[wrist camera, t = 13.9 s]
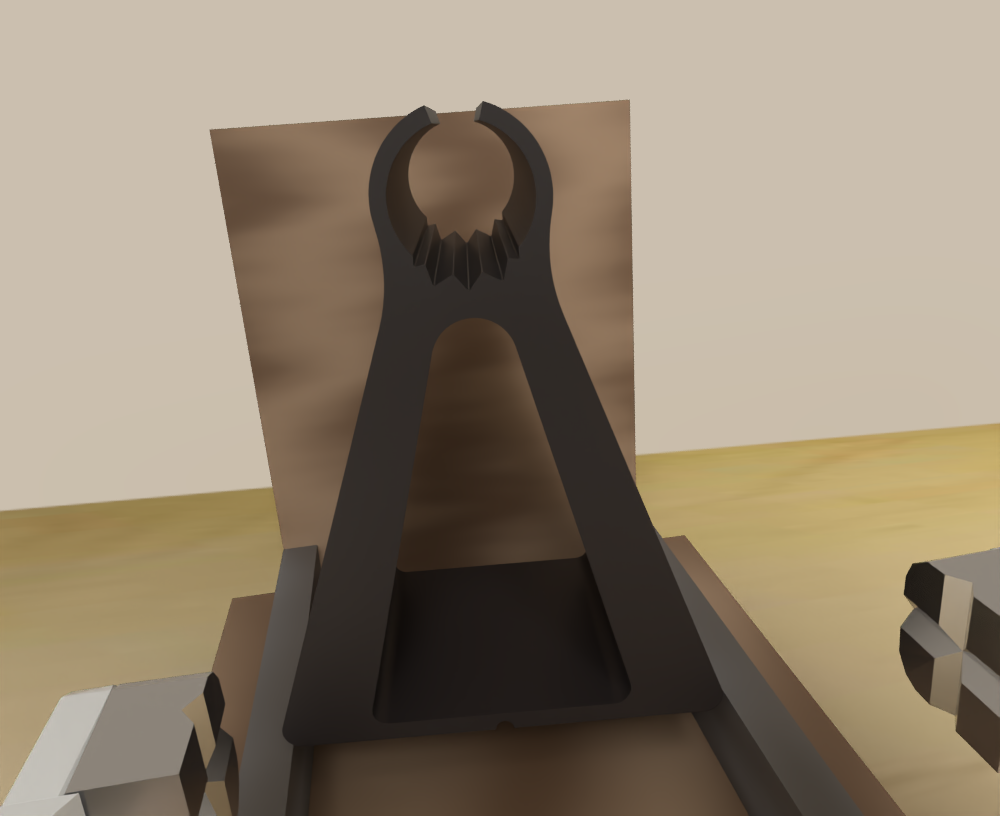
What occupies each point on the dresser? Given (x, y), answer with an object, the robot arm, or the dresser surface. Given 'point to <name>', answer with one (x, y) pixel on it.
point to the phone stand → (490, 588)
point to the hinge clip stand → (475, 489)
